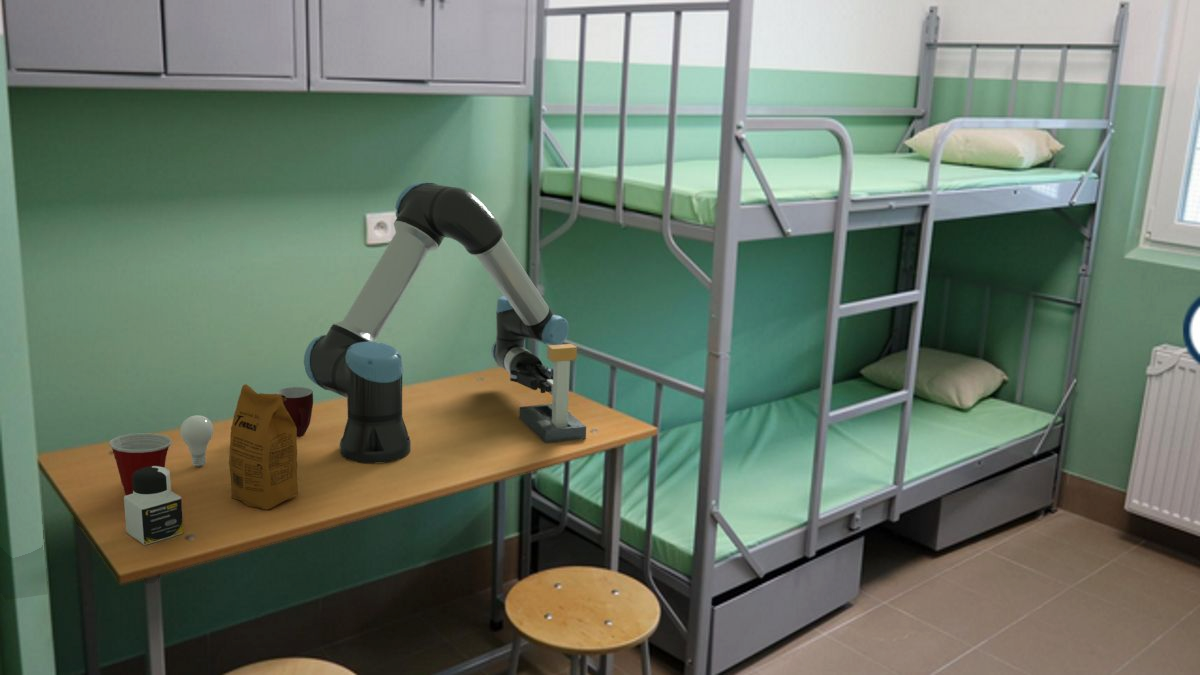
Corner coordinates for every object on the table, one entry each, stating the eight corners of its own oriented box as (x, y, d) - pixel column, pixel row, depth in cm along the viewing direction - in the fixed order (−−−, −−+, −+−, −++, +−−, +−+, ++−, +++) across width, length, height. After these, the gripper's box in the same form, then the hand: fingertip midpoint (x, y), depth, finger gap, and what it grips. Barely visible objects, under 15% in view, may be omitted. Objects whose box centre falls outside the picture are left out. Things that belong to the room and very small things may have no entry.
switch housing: (519, 418, 248) (519, 406, 247) (557, 414, 252) (557, 402, 252) (545, 443, 232) (546, 430, 232) (585, 438, 236) (586, 425, 236)
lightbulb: (182, 462, 212) (178, 412, 209) (214, 459, 215) (211, 409, 212) (183, 473, 207) (179, 422, 204) (216, 470, 209) (213, 419, 206)
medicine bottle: (144, 546, 175) (139, 481, 172) (125, 533, 180) (120, 469, 177) (184, 534, 180) (180, 470, 177) (165, 521, 185) (161, 459, 182)
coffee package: (264, 482, 204) (260, 377, 199) (306, 498, 198) (302, 389, 192) (221, 497, 196) (216, 388, 191) (263, 514, 190) (258, 402, 184)
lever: (545, 426, 238) (547, 345, 233) (568, 423, 240) (571, 343, 235) (549, 430, 235) (552, 349, 230) (573, 428, 237) (577, 347, 233)
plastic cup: (186, 499, 194) (182, 440, 192) (129, 515, 187) (124, 454, 184) (159, 483, 201) (155, 425, 198) (103, 498, 194) (98, 438, 191)
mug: (326, 438, 229) (325, 396, 227) (293, 446, 224) (291, 403, 221) (303, 426, 237) (302, 385, 234) (270, 433, 231) (268, 391, 229)
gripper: (547, 377, 261) (584, 405, 241) (499, 382, 256) (533, 410, 235) (547, 349, 259) (585, 374, 239) (499, 353, 254) (534, 379, 233)
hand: (559, 392), depth 237 cm, fingers closed
